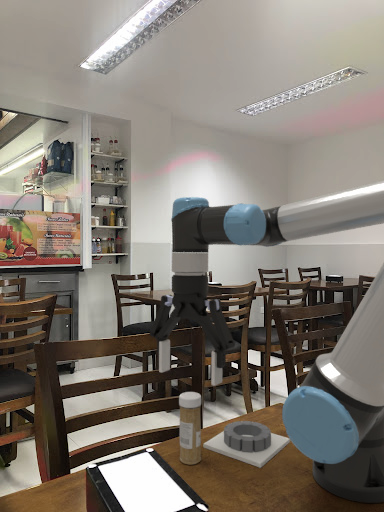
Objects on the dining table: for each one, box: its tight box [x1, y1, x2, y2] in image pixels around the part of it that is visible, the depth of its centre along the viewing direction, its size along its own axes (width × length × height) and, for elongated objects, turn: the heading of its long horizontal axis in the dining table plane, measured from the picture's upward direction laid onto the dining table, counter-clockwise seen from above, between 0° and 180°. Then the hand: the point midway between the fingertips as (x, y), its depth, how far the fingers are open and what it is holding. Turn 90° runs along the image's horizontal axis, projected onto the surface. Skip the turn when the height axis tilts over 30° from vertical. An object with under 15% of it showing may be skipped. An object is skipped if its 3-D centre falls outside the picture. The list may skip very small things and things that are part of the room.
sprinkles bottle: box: [178, 391, 202, 466], centre depth 84 cm, size 5×5×14 cm
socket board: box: [202, 420, 291, 469], centre depth 91 cm, size 14×14×3 cm
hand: (189, 377), depth 84 cm, fingers open, 13 cm apart
